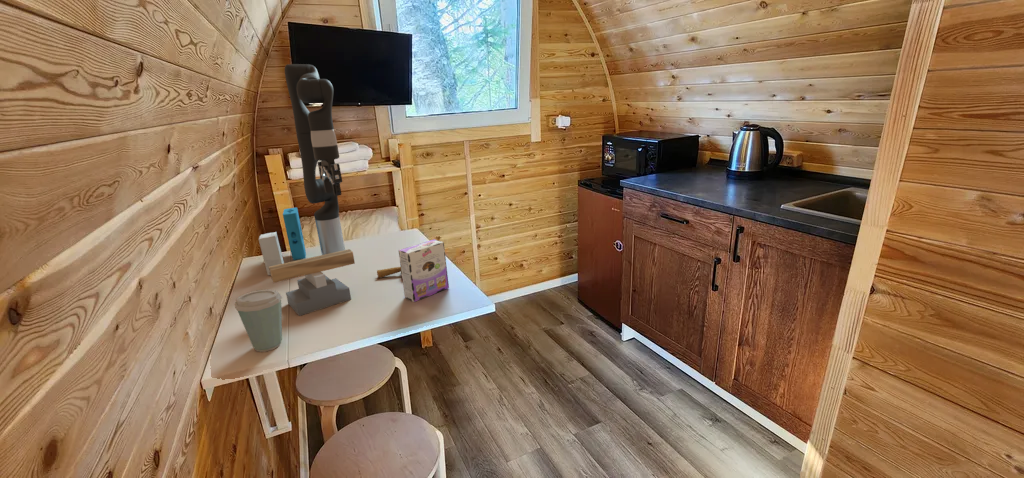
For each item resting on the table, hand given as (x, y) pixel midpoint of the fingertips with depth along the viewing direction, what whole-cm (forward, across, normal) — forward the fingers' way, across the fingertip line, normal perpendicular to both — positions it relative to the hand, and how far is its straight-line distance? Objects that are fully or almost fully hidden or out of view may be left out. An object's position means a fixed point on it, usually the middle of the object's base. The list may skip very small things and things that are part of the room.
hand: (333, 193), depth 147 cm
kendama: (+32, -8, -17) cm, 38 cm away
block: (+32, +46, +4) cm, 56 cm away
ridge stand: (+32, -9, +13) cm, 36 cm away
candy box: (+32, -29, -15) cm, 46 cm away
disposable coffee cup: (+32, -28, +32) cm, 53 cm away
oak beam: (+22, -9, +13) cm, 27 cm away
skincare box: (+32, +34, +16) cm, 49 cm away
